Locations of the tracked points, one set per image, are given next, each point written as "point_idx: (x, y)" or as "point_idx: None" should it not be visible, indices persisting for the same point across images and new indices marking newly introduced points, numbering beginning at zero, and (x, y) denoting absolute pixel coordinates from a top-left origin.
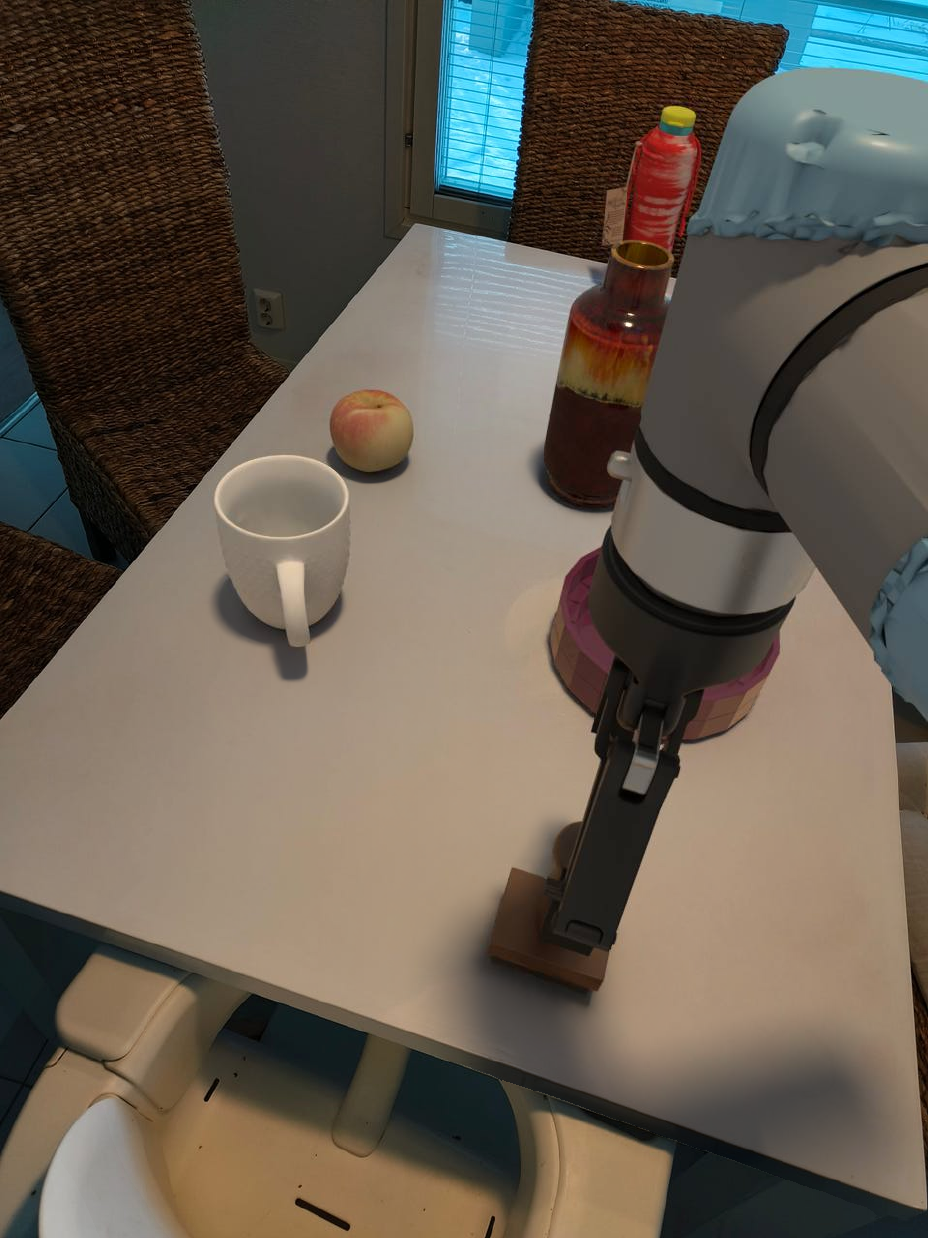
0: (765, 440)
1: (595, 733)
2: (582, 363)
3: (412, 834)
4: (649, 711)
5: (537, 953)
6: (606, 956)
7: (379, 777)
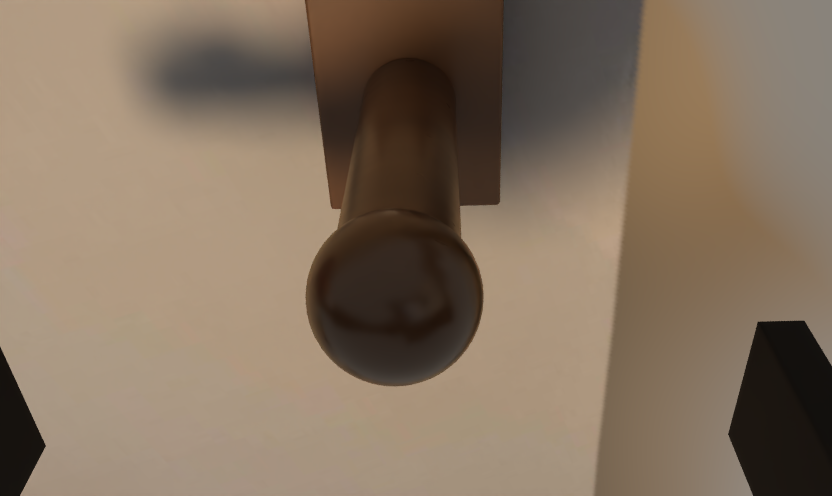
0: None
1: (40, 436)
2: None
3: None
4: None
5: (491, 119)
6: None
7: (243, 385)
